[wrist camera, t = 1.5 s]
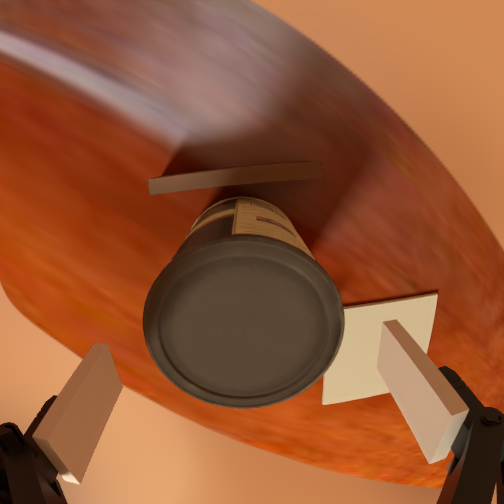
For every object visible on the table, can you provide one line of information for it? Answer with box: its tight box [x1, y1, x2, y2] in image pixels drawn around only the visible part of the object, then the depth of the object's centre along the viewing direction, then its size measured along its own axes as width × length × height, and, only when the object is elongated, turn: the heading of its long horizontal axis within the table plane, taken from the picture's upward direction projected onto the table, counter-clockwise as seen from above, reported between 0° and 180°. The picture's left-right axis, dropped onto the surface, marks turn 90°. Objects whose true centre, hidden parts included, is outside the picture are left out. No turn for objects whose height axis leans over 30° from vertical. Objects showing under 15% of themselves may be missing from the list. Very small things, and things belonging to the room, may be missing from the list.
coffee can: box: [143, 196, 345, 409], centre depth 22 cm, size 10×10×14 cm
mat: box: [322, 293, 438, 405], centre depth 32 cm, size 13×13×1 cm
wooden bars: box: [148, 162, 323, 195], centre depth 27 cm, size 15×13×4 cm
